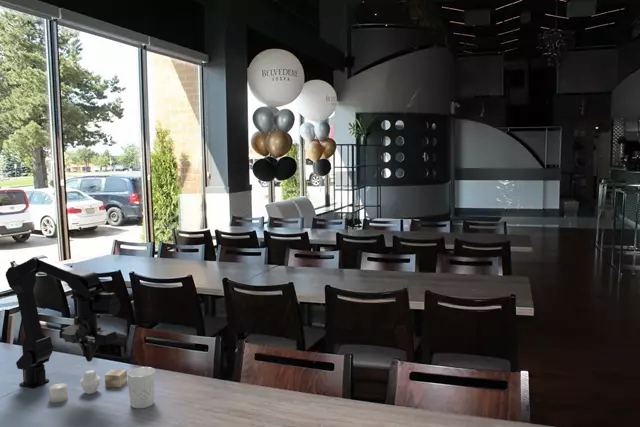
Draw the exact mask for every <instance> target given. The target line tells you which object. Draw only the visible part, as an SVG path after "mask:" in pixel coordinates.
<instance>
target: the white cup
mask: <svg viewBox="0 0 640 427" xmlns="http://www.w3.org/2000/svg"><path fill="white" fill-rule="evenodd" d="M155 382H156V369H155V368H153V367H150V366H141V367H135V368H132V369H130V370H128V371H127V384H128V395H129V396H128V397H129V402H130V407H132V408H134V409H144V408H149V407H151V406H152V405H154V401H155V391H156V390H155V389H156V388H155V386H156V383H155Z"/></svg>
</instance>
